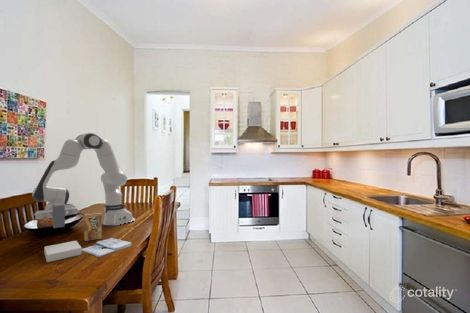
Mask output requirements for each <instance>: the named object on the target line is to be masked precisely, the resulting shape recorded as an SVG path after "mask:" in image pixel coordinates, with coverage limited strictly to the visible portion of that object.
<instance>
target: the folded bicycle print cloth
mask: <svg viewBox="0 0 470 313" xmlns="http://www.w3.org/2000/svg"><path fill="white" fill-rule="evenodd" d="M132 244H133V243H132V242H131V241H126V240H121V239H118V238H114V237H111V238H107V239H103V240H99V241H96V242H95V244H93V245H91V246H87V247H85V248H83V247H82V248H81V252H83V253H87V254H89V255H93V256H95V257H96V258H101V257H104V256H106V254H107V255H108V254H112V253H115V252H118V251H120V250H123V249H126V248H129V247H131V246H132V247H133V245H132ZM102 247H103V249H102Z"/></svg>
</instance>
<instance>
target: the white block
mask: <svg viewBox="0 0 470 313" xmlns="http://www.w3.org/2000/svg"><path fill="white" fill-rule="evenodd" d="M43 249H44V250H43V253H44V256H45V257H44V258H45V259H46V260H45V261H46V263H50V262H54V261H58V260H62V259H68V258H71V257H72V258H73V257H77V256H81V255H82V251H81V249H82V246H81V245H80V244H79V242H78V240H71V241H67V242H62V243H57V244H52V245H46V246H44V248H43Z"/></svg>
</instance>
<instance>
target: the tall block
mask: <svg viewBox="0 0 470 313" xmlns="http://www.w3.org/2000/svg"><path fill="white" fill-rule="evenodd" d="M65 225H66V216H65V205H64V204H60V205H53V218H52V227H53V229H57V228H65V227H66V226H65Z"/></svg>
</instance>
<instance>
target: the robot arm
mask: <svg viewBox="0 0 470 313" xmlns="http://www.w3.org/2000/svg"><path fill="white" fill-rule="evenodd" d="M83 150H94V151H95V154H96V156H97V159H98V163H99V166H100V167H101V169H102V170H103V172H104V173H102V174H101V176H100V180H101V182H102V185H103V190H104V196H105V198H104V199H105V202H104V203H105V204H104V218H103V222H102V225H103V226H120V224H121V225H125V224H124V223H126V224H129V223H128V222H130V223H133V222H132V221H134V222H136V221H135V220H136V218H135V217H133V213H132V212H131V211H130V210H128V209H127V208H126V207H127V206H128V205H127V204H126V203H123V202H122V201H123V198H122V197H123V193H122V192H121V189H120V187H123V186H124V185H126V184H127V182H128V176H127V174H125V173H124V172H123V170H122V169H121V166H120V165H119V164H118V162H117V158H116V156H115V153H114V150H113V147H112V145H111V144H110V141H109V140H107V139H103V138H101V137H100V135H98V134H97V133H94V132H87V133H82V134H79V135H78V136H77V137H76V138H74V139H73V138H71V139H66V141H65V142H64V143H63V145H62V148H61V150H60V152H59V155H58V157H57V158H56V159H55V160H52V161H51V162H50V163H49V164H48V166H47V167H46V169H45V171H44V172H43V175H42V176H41V178H40V180H39V182H38V184H36V186H35V187H34V189H33V191H32V193H31V194H32V195H31V198H32V199H33V200H34V201H35V202H37V203H38V202H39V203H40V202H41V203H42V202H45V203H46V206H45V209H43V210H37V211H35V213H33V216H35V217H34V218H35V220H42V219H53V205H60V204H64V205H65V217H66V216H71V215H78V214H79V208H78V206H76V205H73V203H68V202H69V198H70V191H69V190H68V189H67V188H65V187H59V186H49V185H48V183H49V181H50V180H51V179H50V178H51V177H52V175H53V174H54V173H55V172H58V171H65V170H70V169H72V168H75V167H77V165H78V164H79V161H80V158H81V153H82V151H83Z"/></svg>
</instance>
